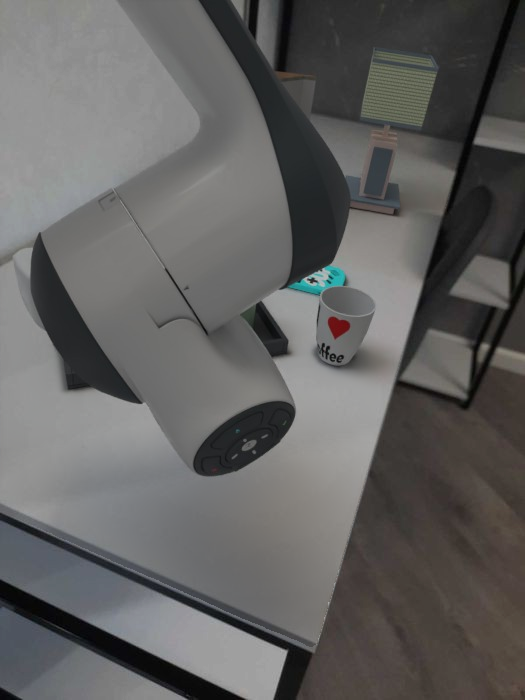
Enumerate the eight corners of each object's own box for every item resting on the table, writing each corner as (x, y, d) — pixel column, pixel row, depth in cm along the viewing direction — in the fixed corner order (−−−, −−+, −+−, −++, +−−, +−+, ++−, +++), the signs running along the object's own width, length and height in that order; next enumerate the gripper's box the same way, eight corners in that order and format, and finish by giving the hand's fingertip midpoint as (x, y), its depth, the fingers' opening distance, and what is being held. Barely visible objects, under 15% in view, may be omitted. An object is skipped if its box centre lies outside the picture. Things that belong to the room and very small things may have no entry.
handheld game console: (337, 300, 93) (339, 293, 92) (253, 279, 96) (253, 272, 95) (346, 275, 101) (348, 269, 100) (268, 256, 104) (269, 250, 103)
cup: (297, 348, 80) (308, 293, 74) (335, 333, 85) (348, 280, 79) (333, 378, 76) (348, 322, 70) (371, 361, 80) (388, 307, 74)
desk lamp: (397, 218, 126) (440, 68, 106) (340, 208, 127) (371, 58, 108) (395, 192, 141) (433, 56, 121) (344, 183, 142) (372, 46, 122)
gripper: (282, 253, 44) (219, 191, 53) (21, 290, 35) (0, 209, 45) (274, 315, 48) (215, 247, 57) (36, 361, 39) (13, 273, 49)
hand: (119, 230), depth 51 cm, fingers open, 8 cm apart
